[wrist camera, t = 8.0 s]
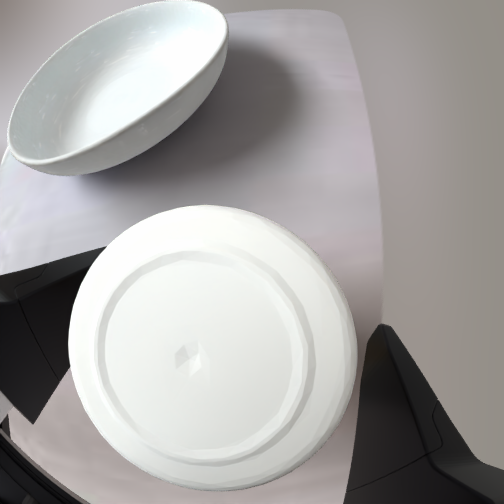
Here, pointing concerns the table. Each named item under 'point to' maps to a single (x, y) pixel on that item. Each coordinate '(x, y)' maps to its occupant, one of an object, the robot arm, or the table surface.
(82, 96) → the serving bowl
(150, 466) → the sprinkles bottle
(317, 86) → the table surface
